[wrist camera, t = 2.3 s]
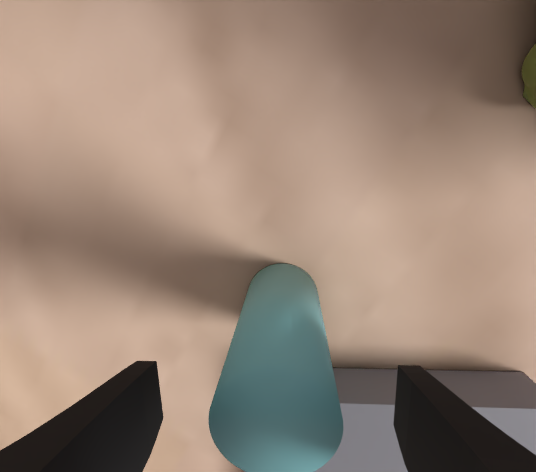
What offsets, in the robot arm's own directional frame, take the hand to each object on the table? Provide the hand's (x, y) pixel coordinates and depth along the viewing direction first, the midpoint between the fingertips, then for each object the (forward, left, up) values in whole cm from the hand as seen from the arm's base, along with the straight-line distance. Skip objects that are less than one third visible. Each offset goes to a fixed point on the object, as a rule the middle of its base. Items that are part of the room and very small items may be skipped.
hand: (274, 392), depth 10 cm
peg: (0, 0, -7) cm, 7 cm away
